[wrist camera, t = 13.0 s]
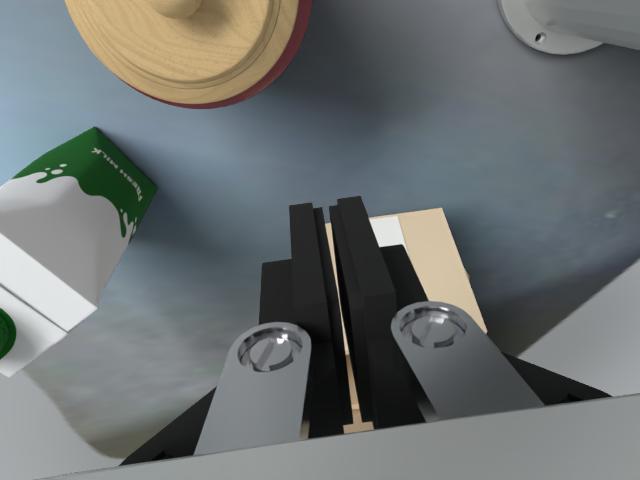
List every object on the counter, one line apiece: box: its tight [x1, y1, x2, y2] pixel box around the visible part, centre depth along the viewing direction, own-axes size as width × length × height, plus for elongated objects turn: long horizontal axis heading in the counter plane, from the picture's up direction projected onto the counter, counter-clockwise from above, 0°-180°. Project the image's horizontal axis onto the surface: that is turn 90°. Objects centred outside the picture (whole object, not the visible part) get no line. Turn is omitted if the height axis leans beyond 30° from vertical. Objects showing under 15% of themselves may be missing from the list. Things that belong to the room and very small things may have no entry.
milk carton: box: [0, 127, 158, 377], centre depth 34 cm, size 9×9×20 cm
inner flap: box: [325, 208, 487, 355], centre depth 38 cm, size 12×12×1 cm
